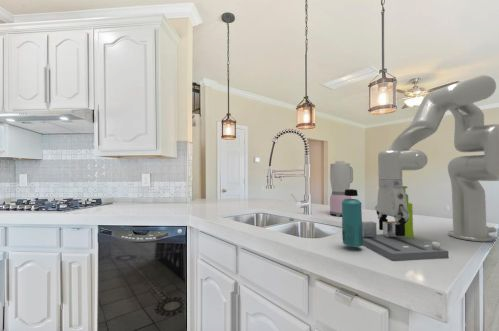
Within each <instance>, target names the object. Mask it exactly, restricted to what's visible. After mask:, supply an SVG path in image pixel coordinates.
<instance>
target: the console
mask: <svg viewBox="0 0 499 331" xmlns="http://www.w3.org/2000/svg"><path fill="white" fill-rule="evenodd" d="M362 246H364V247H366V248H368V249H370V250H372V251H373V252H375V253H378V254H379V255H381V256H382V257H384V258H387V259H388V260H390V261H391V262H397V261H412V260H413V261H414V260H434V259H447V258H448V259H449V251H448V250H447V249H443V248H441V242H438V241H431V244H429V243H427V242H424V241H421V240H418V239H415V238H414V237H413V238H410V237H407V236H401V237H386V236H383V233H380V234H377V237H363V244H362Z"/></svg>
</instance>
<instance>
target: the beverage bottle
mask: <svg viewBox="0 0 499 331" xmlns="http://www.w3.org/2000/svg"><path fill="white" fill-rule="evenodd" d="M345 196H351V197H358V196H359V195H358V190H357V189H354V188H349V189H347V190H345ZM362 222H363V214H362V202H361V201H360V200H359V199H357V198H352V199H344V200H343V201H342V215H341V225H342V230H341V235H342V237H341V239H342V244H343V245H345V246H348V247H354V248H359V247H362V246H363V245H362V244H363V236H362V230H363V223H362Z"/></svg>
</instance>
